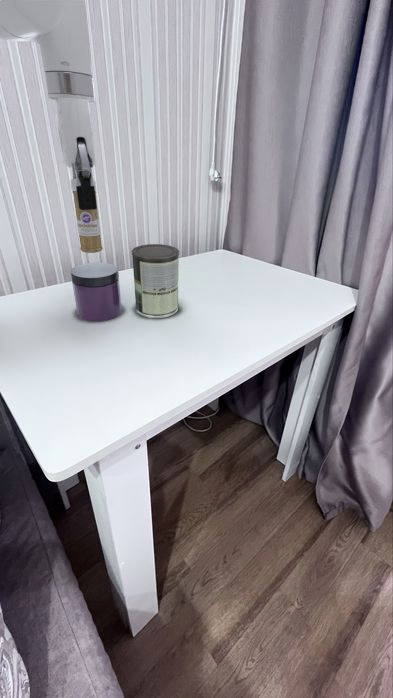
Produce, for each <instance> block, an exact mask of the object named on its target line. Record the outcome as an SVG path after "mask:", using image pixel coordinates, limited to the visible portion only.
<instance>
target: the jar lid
mask: <svg viewBox="0 0 393 698" xmlns="http://www.w3.org/2000/svg"><path fill="white" fill-rule="evenodd" d="M69 272H70V278H71V282H72V281H73V282H74V283H75V284H77V285H81V286H89V287H95V286H104V285H108V284H111V283H113V282H115V281H117V280H118V277H119V276H120V274H119V268H118V267H117V266H116V265H115V264H112V263H108V262H99V261H98V262H97V261H95V262H86V263H81V264H78V265H75V266H73V267H72V268H71V269H70V271H69ZM119 278H120V277H119Z"/></svg>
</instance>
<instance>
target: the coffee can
mask: <svg viewBox="0 0 393 698" xmlns="http://www.w3.org/2000/svg"><path fill="white" fill-rule="evenodd" d="M131 256H132V267H133V268H132V270H133V284H134V297H135V298H134V299H135V311H136V313H137V314H138V315H140V316H141V317H145V318H148V319H165V318H169V317H172V316H174V315H175V314H176V313H177V312H178V311H179V256H180V250H179V249H178V248H177V247H176V246H172V245H169V244H163V243H162V244H159V243H149V244H148V243H147V244H141V245H137V246H135V247H134V248H132V250H131Z"/></svg>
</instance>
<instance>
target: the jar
mask: <svg viewBox="0 0 393 698" xmlns="http://www.w3.org/2000/svg"><path fill="white" fill-rule="evenodd" d="M71 285H72V290H73V296H74V301H75V306H76V308H75V309H76V312H77V313H76V314H77V316H78V317H79V318H80V319H81V320H84V321H87V322H105V321H109V320H110V321H111V320H113V319H115V318H117V317H119V316H120V315H121V314H122V311H123V310H122V309H123V308H122V298H121V287H120V277H118V280H117V281H115V282H113V283H111V284H108V285H104V286H95V287H89V286H81V285H77V284H75V283H74V282H73V281H72V280H71Z"/></svg>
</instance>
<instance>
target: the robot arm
mask: <svg viewBox="0 0 393 698" xmlns="http://www.w3.org/2000/svg"><path fill="white" fill-rule="evenodd" d="M0 39H1V40H2V39H3V40H5V41H8V42H29V43H37V44H39V49H40V53H41V55H40V56H41V60H42V65H43V72H44V79H45V85H46V93H47V98H48V100H54V101H55V112H56V113H55V114H56V122H57V128H58V129H57V130H58V136H59V143H60V150H61V160H62V163H63V164H64V165H65V166H66V167H68V168H71V175H72V179H77V185H78V186H76V190H77V197H78V204H79V208H80V210H95V209H97V207H98V204H97V205H96V199H97V195H96V196H95V187H94V183H93V180H94V178H93V171H92V168H94V167H95V166H96V152H95V141H94V132H93V125H92V114H91V107H90V103H96V96H95V95H96V94H95V85H94V75H93V65H92V55H91V44H90V34H89V24H88V15H87V3H86V0H0Z"/></svg>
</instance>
